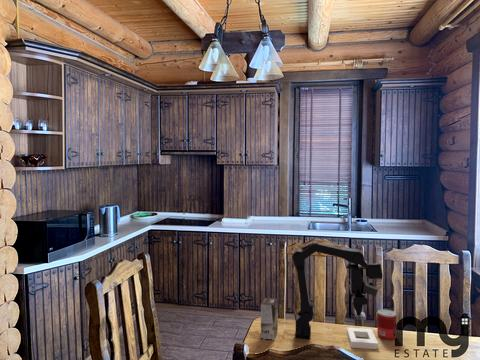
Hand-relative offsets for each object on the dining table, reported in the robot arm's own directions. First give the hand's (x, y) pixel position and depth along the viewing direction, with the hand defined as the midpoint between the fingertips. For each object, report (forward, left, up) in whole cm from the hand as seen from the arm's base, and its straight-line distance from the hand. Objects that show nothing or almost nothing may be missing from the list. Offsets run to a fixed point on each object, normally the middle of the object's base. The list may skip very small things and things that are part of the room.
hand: (357, 313), depth 156 cm
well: (+2, 0, -12) cm, 13 cm away
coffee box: (-39, -1, -13) cm, 41 cm away
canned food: (+14, +6, -13) cm, 20 cm away
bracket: (+1, 0, -2) cm, 2 cm away
